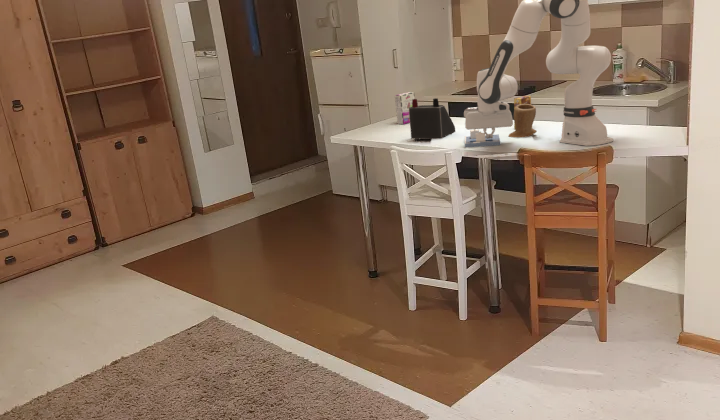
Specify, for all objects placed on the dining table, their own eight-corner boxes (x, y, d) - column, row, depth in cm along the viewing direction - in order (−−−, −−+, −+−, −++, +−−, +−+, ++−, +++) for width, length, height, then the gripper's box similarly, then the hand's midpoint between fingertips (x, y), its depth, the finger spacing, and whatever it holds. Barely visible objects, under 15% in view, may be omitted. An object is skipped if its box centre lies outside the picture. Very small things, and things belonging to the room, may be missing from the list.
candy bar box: (410, 120, 376) (408, 91, 371) (417, 121, 372) (414, 92, 367) (396, 124, 369) (394, 94, 364) (403, 124, 365) (400, 95, 360)
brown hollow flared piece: (530, 141, 291) (529, 107, 287) (505, 140, 298) (504, 107, 294) (543, 134, 302) (542, 101, 298) (519, 133, 309) (518, 101, 305)
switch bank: (498, 140, 298) (498, 133, 297) (500, 148, 283) (500, 141, 282) (465, 143, 300) (464, 136, 299) (465, 150, 285) (464, 143, 284)
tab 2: (485, 142, 288) (484, 131, 287) (485, 144, 286) (485, 132, 284) (476, 143, 289) (475, 131, 288) (476, 144, 286) (475, 133, 285)
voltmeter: (455, 134, 323) (453, 93, 317) (442, 141, 309) (439, 99, 304) (425, 134, 331) (422, 94, 325) (411, 141, 318) (408, 99, 312)
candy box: (521, 130, 316) (520, 98, 312) (514, 130, 319) (513, 98, 315) (532, 126, 322) (531, 95, 317) (524, 126, 325) (523, 95, 320)
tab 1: (479, 139, 296) (479, 128, 295) (479, 140, 293) (479, 129, 292) (470, 140, 297) (470, 128, 296) (470, 141, 294) (470, 130, 293)
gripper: (463, 109, 281) (465, 141, 285) (512, 105, 277) (513, 138, 281) (463, 107, 287) (465, 138, 290) (511, 103, 283) (512, 135, 287)
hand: (489, 138), depth 286 cm, fingers closed
